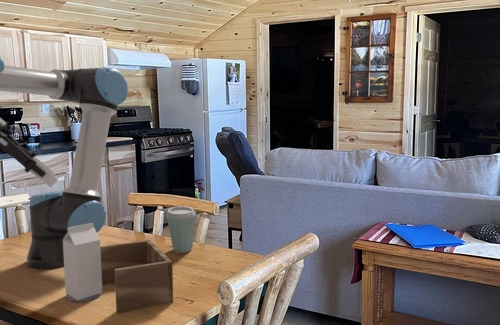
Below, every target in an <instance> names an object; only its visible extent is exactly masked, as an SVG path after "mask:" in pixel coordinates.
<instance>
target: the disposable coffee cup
mask: <svg viewBox="0 0 500 325" xmlns="http://www.w3.org/2000/svg"><path fill="white" fill-rule="evenodd" d="M165 217H166V219H167V224H168V229H169V230H168V231H169V236H170V239H171V244H172V249H173V252H175V253H178V254H181V253H182V254H183V253H189V252H190V251H192V248H193V246H194V245H193V243H194V235H195V226H196V217H197V213H196V211H195V209H194V207H190V206H185V205H181V206H172V207H169V208H168V209H167V210H166V212H165Z"/></svg>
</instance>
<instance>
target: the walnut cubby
mask: <svg viewBox="0 0 500 325" xmlns="http://www.w3.org/2000/svg"><path fill="white" fill-rule="evenodd" d="M100 251H101V275H102V285H107V284H113V283H114V284H115V285H114V286H115V289H114V290H115V306H116V307H115V309H116V310H115V311H116V313H117V314H119V313H120V314H121V313H126V312H131V311H136V310H140V309H142V310H143V309H146V308H152V307H156V306H160V305H166V304H173V303H174V289H173V288H174V285H173V284H174V283H173V282H174V279H173V278H174V277H173V276H174V275H173V273H174V272H173V261H172V260H171V259H170V258H169V257H168V256H167V255H166V254H165V253H164V252H163V251H162V250H161V249H160V248H159V247H158V246H157V245H156V244H155V243H153V241H151V239H146V240H139V241H131V242H123V243H117V244H116V243H115V244H109V245H108V244H107V245H100Z"/></svg>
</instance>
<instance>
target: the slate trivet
mask: <svg viewBox="0 0 500 325" xmlns="http://www.w3.org/2000/svg"><path fill="white" fill-rule="evenodd" d="M101 295H102V293H100V294H97V295H94V296H90V297H87V298H84V299H80V300H76V299H75V298H73V297H71V296H70V295H68V294H67V293H66V295H65V296H66V298H65V299H66V300H67V301H69V302H73V303H83V302H89V301H93V300H96V299H98V298H100V297H101Z"/></svg>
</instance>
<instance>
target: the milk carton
mask: <svg viewBox="0 0 500 325" xmlns="http://www.w3.org/2000/svg"><path fill="white" fill-rule="evenodd" d="M100 246H101V239H100V236H99V234H98V232H96V230H95V228H94V224H93V223H89V224H84V225H78V226H73V227H68V232H67V234H66V235H65V237H64V239H63V252H64V266H63V270H64V287H65V288H64V290H65V293H66V295H67V294H68V295H70V296H71V297H73V298H75V299H76V300H80V299H84V298H87V297H90V296H94V295H97V294H100V293H101V294H102V293H103V284H102V275H101V251H100Z"/></svg>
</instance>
